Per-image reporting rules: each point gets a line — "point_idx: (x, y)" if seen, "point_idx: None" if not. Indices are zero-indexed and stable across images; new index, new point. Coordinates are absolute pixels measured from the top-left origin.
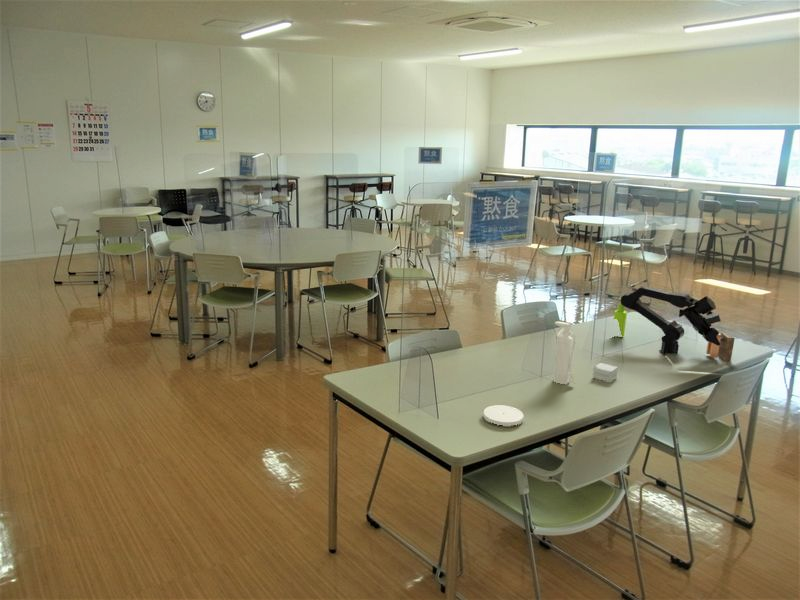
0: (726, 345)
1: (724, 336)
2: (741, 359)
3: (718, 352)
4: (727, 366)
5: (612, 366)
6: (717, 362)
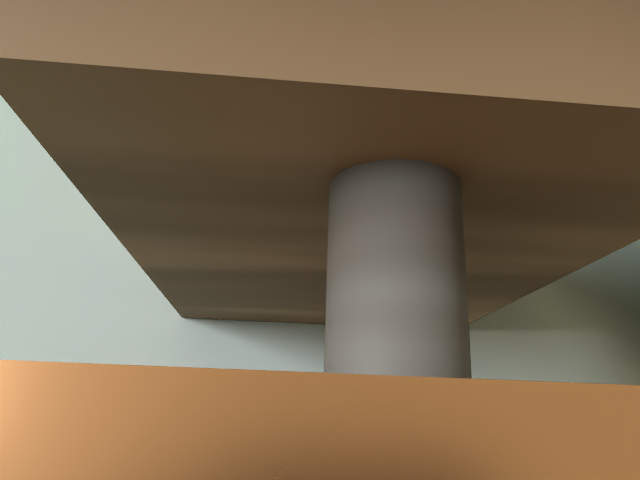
0: (625, 238)
1: (462, 127)
2: None
3: (197, 301)
4: (596, 327)
5: None
6: None
